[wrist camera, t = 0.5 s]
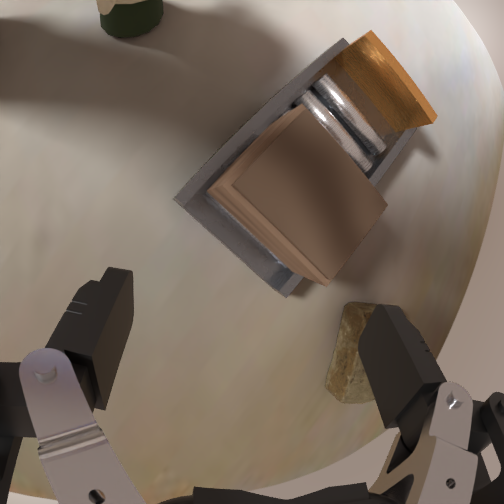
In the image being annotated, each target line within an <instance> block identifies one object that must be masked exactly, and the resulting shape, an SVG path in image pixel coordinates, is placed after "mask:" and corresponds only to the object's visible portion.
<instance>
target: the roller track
mask: <svg viewBox="0 0 504 504" xmlns="http://www.w3.org/2000/svg"><path fill="white" fill-rule="evenodd" d="M300 104H303V105H304V106H305V107H306V108H307V109H308V110H309V111H310V112H311V114H312V115H313V116H314V117H315V118H316V119H317V120H318V121H319V122H320V123H321V124H322V125H323V127H324V128H325V129H326V130H327V131H328V132H329V133H330V134H331V136H332V137H333V138H334V139H335V140H336V141H337V142H338V144H339V145H340V146H341V147H342V148H343V149H344V150H345V152H346V153H347V154H348V155H349V156H350V158H351V159H352V160H353V161H354V162H355V164H356V165H357V166H358V167H359V169H360V170H361V171H362V172H363V173H364V175H365V176H366V177H367V178H368V180H369V181H370V182H371V184H372V185H373V186H374V187H375V186H376V184H377V183H378V182H379V180H380V179H381V178H382V176H383V175H384V173H385V172H386V171H387V169H388V168H389V167H390V165H391V164H392V162H393V161H394V160H395V158H396V157H397V156H398V154H399V153H400V151H401V150H402V149H403V147H404V146H405V144H406V143H407V142H408V140H409V139H410V137H411V136H412V134H413V133H414V132H415V130H416V129H417V127H420V126H424V125H428V124H433V122H434V121H435V119H436V118H437V114H436V113H435V111H434V110H433V108H432V107H431V105H430V104H429V102H428V101H427V100H426V98H425V97H424V95H423V94H422V92H421V91H420V90H419V88H418V87H417V86H416V84H415V83H414V81H413V80H412V79H411V77H410V76H409V75H408V74H407V72H406V71H405V70H404V68H403V67H402V66H401V65H400V63H399V62H398V61H397V60H396V58H395V57H394V56H393V55H392V54H391V52H390V51H389V50H388V49H387V48H386V46H385V45H384V44H383V43H382V42H381V41H380V39H379V38H378V37H377V36H376V35H375V34H374V33H373V32H372V31H371V30H370V31H369V32H367V33H366V34H364V35H363V36H361V37H360V38H358V39H357V40H355V41H354V42H353V43H351V44H350V45H349V43H348V42H347V41H346V40H345V39H344V38H342V39H341V40H339V41H338V42H337V43H335V44H334V45H333V46H331V47H330V48H329V49H328V50H326V51H325V52H324V53H323V54H322V55H320V56H319V57H318V58H317V59H316V60H315V61H313V62H312V63H311V64H310V65H309V66H307V67H306V68H305V69H304V70H303V71H302V72H301V73H299V74H298V75H297V76H296V77H295V78H294V79H293V80H291V81H290V82H289V83H288V84H287V85H286V86H285V87H284V88H283V89H281V90H280V91H279V92H278V93H277V94H276V95H275V96H274V97H273V98H272V99H271V100H269V101H268V102H267V103H266V104H265V105H264V106H263V107H262V108H261V109H260V110H259V111H258V112H257V113H256V114H255V115H253V116H252V117H251V118H250V119H249V120H248V121H247V122H246V123H245V124H244V125H243V126H242V127H241V128H240V129H239V130H238V131H237V132H236V133H235V134H234V135H233V136H232V137H231V138H230V139H229V140H228V141H227V142H226V143H225V144H224V145H223V146H222V147H221V148H220V149H219V150H218V151H217V152H216V153H215V154H214V155H213V156H212V157H211V158H210V159H209V160H208V161H207V162H206V164H205V165H204V166H203V167H202V168H201V169H200V170H199V171H198V172H197V173H196V174H195V175H194V176H193V177H192V178H191V179H190V181H189V182H188V183H187V184H186V185H185V186H184V187H183V188H182V189H181V190H180V191H179V193H178V194H177V195H176V196H175V197H174V198H173V199H174V200H175V201H176V202H177V203H178V204H179V205H180V206H181V207H183V208H184V209H185V210H186V211H187V212H188V213H189V214H190V215H191V216H192V217H194V218H195V219H196V220H197V221H198V222H199V223H200V224H201V225H202V226H204V227H205V228H206V229H207V230H208V231H209V232H210V233H211V234H212V235H214V236H215V237H216V238H217V239H218V240H219V241H220V242H221V243H222V244H224V245H225V246H226V247H227V248H228V249H229V250H230V251H231V252H232V253H234V254H235V255H236V256H237V257H238V258H239V259H240V260H241V261H243V262H244V263H245V264H246V265H247V266H248V267H249V268H250V269H251V270H253V271H254V272H255V273H256V274H257V275H258V276H259V277H260V278H262V279H263V280H264V281H265V282H266V283H267V284H268V285H269V286H271V287H272V288H273V289H274V290H275V291H277V292H278V293H280V294H281V295H283V296H284V297H286V298H287V297H288V296H289V294H290V293H291V292H292V291H293V290H294V288H295V287H296V286H297V285H298V284H299V282H300V281H301V280H302V279H303V278H304V277H303V276H301V275H299V274H297V273H294V272H292V271H291V270H290V269H289V268H288V267H287V266H286V265H285V264H284V263H283V262H282V261H280V260H279V259H278V258H277V257H276V256H275V255H274V254H273V253H272V252H271V251H270V250H269V249H268V248H267V247H266V246H265V245H264V244H262V243H261V242H260V241H259V240H258V239H257V238H256V237H255V236H254V235H253V234H252V233H251V232H250V231H249V230H248V229H246V228H245V227H244V226H243V225H242V224H241V223H240V222H239V221H238V220H237V219H236V218H235V217H234V216H233V215H232V214H230V213H229V212H228V211H227V210H226V209H225V208H224V207H223V206H222V205H221V204H220V203H219V202H218V201H217V200H215V199H214V198H213V197H212V196H211V195H210V194H209V193H208V192H207V190H208V189H209V188H210V187H211V186H212V184H213V183H214V182H215V181H216V180H217V179H218V178H219V177H220V176H221V175H222V174H223V173H224V172H225V171H226V170H227V168H228V167H229V166H230V165H231V164H232V163H233V162H234V161H235V160H236V159H237V158H238V157H239V156H240V155H241V154H242V153H243V152H244V151H245V150H246V149H247V148H248V147H249V146H250V145H251V144H252V143H253V141H254V140H255V139H256V138H257V137H258V136H259V135H260V134H261V133H262V132H263V131H264V130H265V129H266V128H267V127H268V126H269V125H270V124H272V123H273V122H274V121H276V120H277V119H279V118H280V117H282V116H283V115H285V114H287V113H288V112H290V111H291V110H293V109H294V108H296V107H297V106H299V105H300Z"/></svg>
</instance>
